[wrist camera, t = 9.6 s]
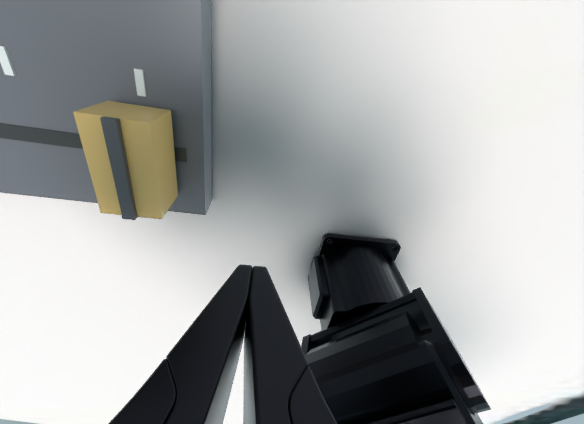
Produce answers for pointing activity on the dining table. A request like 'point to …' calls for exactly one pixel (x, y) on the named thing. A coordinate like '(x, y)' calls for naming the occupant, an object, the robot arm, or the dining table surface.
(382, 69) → the dining table surface
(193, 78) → the mixing board
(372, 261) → the robot arm
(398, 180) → the dining table surface
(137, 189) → the amber fader
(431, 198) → the dining table surface
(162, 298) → the dining table surface
